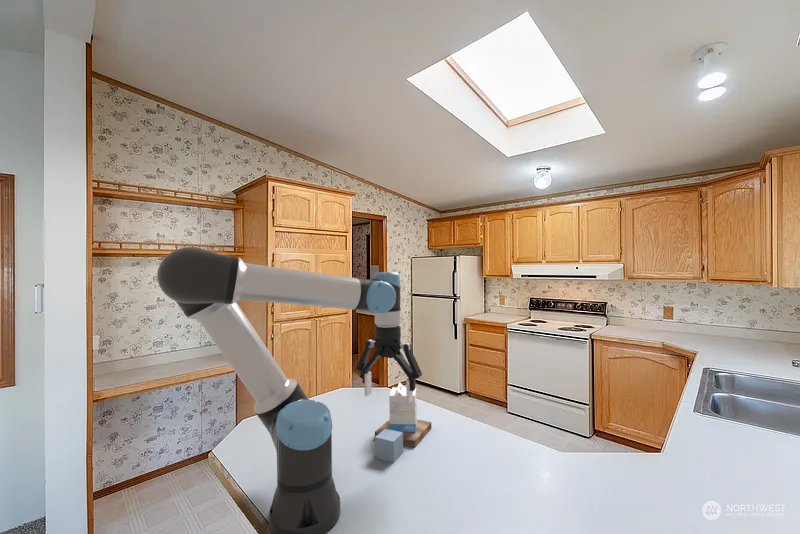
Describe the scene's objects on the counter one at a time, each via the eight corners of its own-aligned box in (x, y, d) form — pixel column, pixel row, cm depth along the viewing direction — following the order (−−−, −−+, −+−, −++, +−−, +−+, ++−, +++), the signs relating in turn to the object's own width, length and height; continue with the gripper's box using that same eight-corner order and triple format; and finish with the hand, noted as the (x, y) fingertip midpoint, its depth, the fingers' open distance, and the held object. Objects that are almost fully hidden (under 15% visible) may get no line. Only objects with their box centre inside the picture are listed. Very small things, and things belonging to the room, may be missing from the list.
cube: (393, 463, 98) (393, 441, 98) (375, 458, 101) (375, 437, 101) (403, 452, 103) (402, 432, 103) (385, 448, 106) (385, 428, 106)
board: (414, 447, 106) (414, 440, 106) (374, 438, 112) (374, 431, 112) (431, 428, 119) (431, 422, 119) (394, 420, 125) (394, 415, 125)
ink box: (415, 433, 111) (415, 390, 111) (389, 432, 112) (388, 390, 112) (417, 421, 119) (416, 381, 120) (392, 420, 120) (392, 381, 120)
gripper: (432, 325, 100) (433, 400, 100) (358, 320, 111) (358, 388, 111) (422, 330, 93) (423, 409, 93) (344, 324, 104) (345, 396, 104)
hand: (388, 398), depth 102 cm, fingers open, 13 cm apart
